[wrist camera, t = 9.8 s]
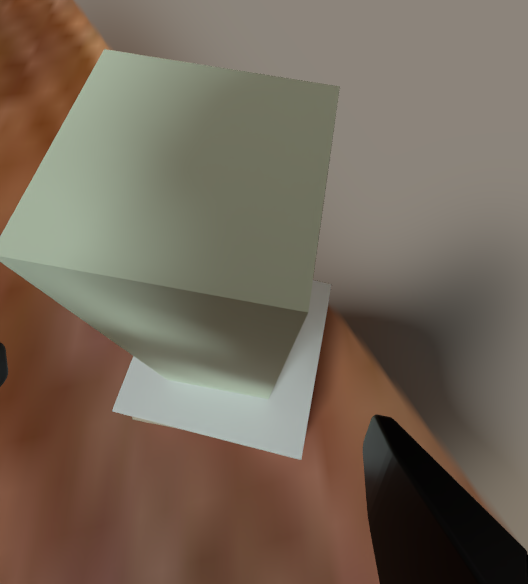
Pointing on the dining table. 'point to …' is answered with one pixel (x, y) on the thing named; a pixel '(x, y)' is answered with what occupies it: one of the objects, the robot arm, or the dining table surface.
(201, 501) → the dining table surface
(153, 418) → the top slab
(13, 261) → the pillar
